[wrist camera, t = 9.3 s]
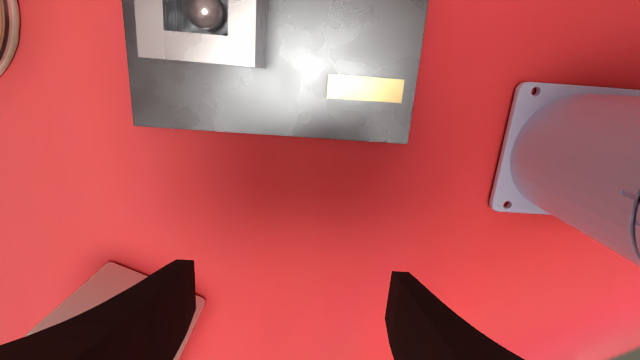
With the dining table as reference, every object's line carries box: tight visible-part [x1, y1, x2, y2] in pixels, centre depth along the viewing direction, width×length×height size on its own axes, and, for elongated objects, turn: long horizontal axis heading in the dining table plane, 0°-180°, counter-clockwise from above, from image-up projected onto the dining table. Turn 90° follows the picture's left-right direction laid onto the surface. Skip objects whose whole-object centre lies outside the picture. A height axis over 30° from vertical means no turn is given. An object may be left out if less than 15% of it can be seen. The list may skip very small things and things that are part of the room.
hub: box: [134, 0, 268, 69], centre depth 16 cm, size 5×5×4 cm
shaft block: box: [122, 0, 429, 144], centre depth 17 cm, size 16×12×4 cm
